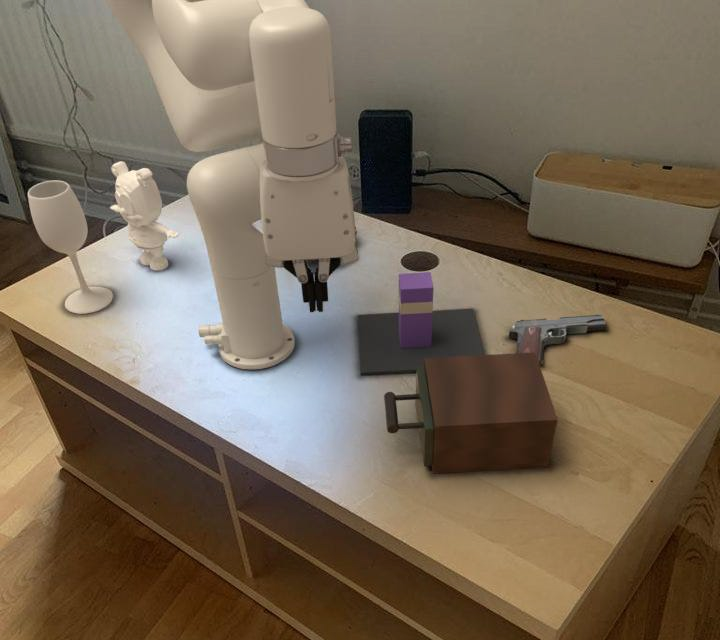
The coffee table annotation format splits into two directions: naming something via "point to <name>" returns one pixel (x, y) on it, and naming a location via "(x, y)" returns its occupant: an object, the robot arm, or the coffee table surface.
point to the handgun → (551, 332)
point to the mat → (386, 356)
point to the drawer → (423, 415)
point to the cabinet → (489, 412)
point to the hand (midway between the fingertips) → (316, 305)
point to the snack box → (415, 309)
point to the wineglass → (65, 237)
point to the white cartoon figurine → (142, 213)
